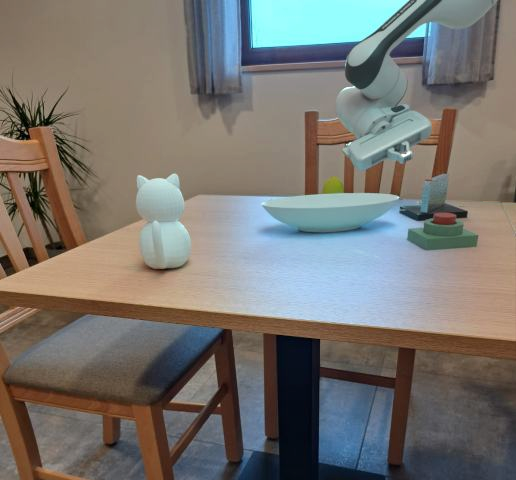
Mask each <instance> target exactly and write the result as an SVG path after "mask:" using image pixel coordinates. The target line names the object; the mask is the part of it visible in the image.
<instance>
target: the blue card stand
mask: <svg viewBox="0 0 516 480" xmlns="http://www.w3.org/2000/svg"><path fill="white" fill-rule="evenodd" d="M449 180H450V174H449V173H441V174H438V175H436V176H433V177H430V178H425V179H424V180H423V187H422V195H421V202H420V205H421V209H420V213H429V212H431V211H433V210H435V209H437V208H439V207H441V206H443V205H445V203H446V200H447V193H448V187H449Z"/></svg>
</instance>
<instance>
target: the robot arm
mask: <svg viewBox="0 0 516 480" xmlns="http://www.w3.org/2000/svg"><path fill="white" fill-rule="evenodd" d="M497 2H499V0H408V1H407V2H406V3H405V4H403V5H402V6H401V7H400V8H399V9H398V10H397V11H395V13H394V14H393V15H391V16H390V17H389V18H388V19H386V20H385V21H384V22H383V23H382V24H381V25H380V26H379V27H378V28H377V29H376V30H375V31H373V32H372V33H370V34H369V35H368V36H366V37H364V38H363V39H362V40H360V41H359V42H357V43H356V44H355V45H354V46H353V47H352V48H351V49H350V51H349V53H348V54H347V56H346V60H345V64H344V65H345V66H344V76H345V79H346V81H347V82H348V83H349V84H351V85H352V86H349V87H345V88H343V89H342V90H341V91H340V92H339V93H338V95H337V96H336V99H335V103H334V111H335V115H336V118H337V119H338V120H339V122H340V124H342V125H343V127H345V129H346V130H347V131H348V132H350V133H351V134H354V137H355V138H356V139H354V140H352V141H350V142H348V143H346V144H345V145H344V146H343V148H342V153H343V155H345V157H347V158H349V160H350V162H351V163H352V165H353V167H354V168H355V170H357V171H360V172H364V171H366V170H369V168H372V167H373V166H376V165H378V164H380V163H381V162H384V161H385V160H387V159H388V160H390V161H396V162H399V164H401V165H404V164H405V163H407V162H408V161H411V160H413V159H414V153H413V152H412V150H410V148H411V147H414V146H416V145H417V144H419V143H421V142H424V141H425V140H427V139H429V138H431V134H432V129H433V127H432V126H433V125H432V121H431V120H430V119H429V118H427V117H426V116H425V115H423V114H422V113H420V112H419V111H417V110H411V109H410V105H408V104H407V103H403V104H400V102H401V101H402V100H403V98H404V97H405V95H406V92H407V89H408V82H409V81H408V77H407V75H406V74H405V73H404V71H403V70H402V69H401V68H400V67H399V65H398V64H397V63H396V62H395V61H394V60H393V58H392V57H391V56H390V54H391V53H392V51H393V50H394V49H395V48H396V47H398V45H400V44H401V43H402V42H403V41H404V40H405V39H407V38H408V37H409V36H410V35H411V34H412V33H414V31H416V30H417V29H418V28H419V27H421V26H423V25H426V24H428V23H435V24H439V25H441V26H443V27H445V28H447V29H452V30H461V29H462V30H463V29H467V28H469V27H471V26H472V25H474V24H475V23H477V22H478V21H479V20H480V19H481V18H482V17H484V16H485V14H487V13H488V12H489V10H491V8H492V7H493V6H494V5H495V4H497ZM399 104H400V105H399Z"/></svg>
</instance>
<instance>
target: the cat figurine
mask: <svg viewBox="0 0 516 480" xmlns="http://www.w3.org/2000/svg"><path fill="white" fill-rule="evenodd" d="M180 187H181V185H180V177H179V176H178V174H177V173H172V174H170V175H169V176H167V177H166V178H161V177H157V178H156V177H155V178H152V179H148V178H146V177H145V176H143V175H140V174H138V175H137V176H136V188H137V193H136V198H135V208H136V211H137V213H138V215H139V216H140V217H141V218H142V219H143V220H144V221H145V222H146V223H145V224H144V225H143V226H142V229H141V230H140V232H139V236H138V249H139V253H140V256H141V258H142V260H143V262H145V264H146V265H147V266H148V267H150V268H151V269H154V270H164V269H176V268H181V267H182V266H183V265H184V264H185V263H187V261H188V259H189V257H190V255H191V250H192V239H191V236H190V234H189V232H188V230H187V229H186V227H185V226H184V225H183V224H182V223H181V222H180V221H178V220H179V219H180V218H181V217H182V215H183V214H184V212H185V200H184V196H183V194H182V191H181V190H180Z"/></svg>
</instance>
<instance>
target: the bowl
mask: <svg viewBox="0 0 516 480" xmlns="http://www.w3.org/2000/svg"><path fill="white" fill-rule="evenodd" d="M399 200H400V196H398V195H396V194H391V193H390V194H389V193H376V192H375V193H374V192H353V193H352V192H344V193H338V194H322V193H320V194H319V193H318V194H306V195H295V196H287V197H279V198H278V197H277V198H272V199H268V200H265V201H262V202H261V206H262V208H263V209H264V210H265V211H266V212H267V213H268V214H269V215H270V216H271V218H274V220H276V221H278V222H280V223H282V224H285V225H286V226H290V227H293V228H296V229H298V231H300V232H306V233H339V232H346V231H353V230H357V229H360V228H361V227H362V226H363V225H365V224H369V223H371V222H374V221H375V220H377V219H379V218H380V217H382V216H384V215H385V214H387V213H388V212H389V211H390V210H391V209H392V208H393V207H394V206H395V205H396V203H398V201H399Z"/></svg>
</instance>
